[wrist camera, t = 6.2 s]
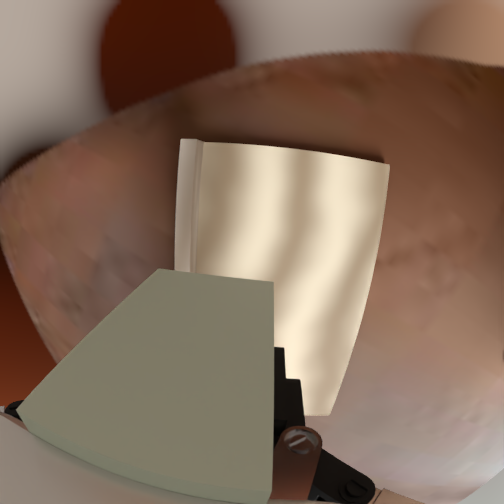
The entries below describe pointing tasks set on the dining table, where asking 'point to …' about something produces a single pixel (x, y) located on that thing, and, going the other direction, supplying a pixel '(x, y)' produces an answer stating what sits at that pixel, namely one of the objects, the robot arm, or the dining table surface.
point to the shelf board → (287, 244)
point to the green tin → (171, 389)
